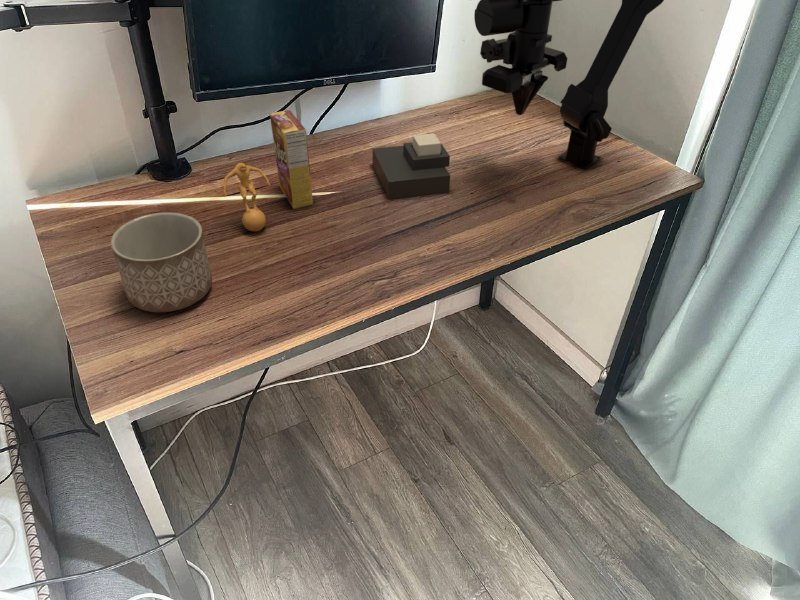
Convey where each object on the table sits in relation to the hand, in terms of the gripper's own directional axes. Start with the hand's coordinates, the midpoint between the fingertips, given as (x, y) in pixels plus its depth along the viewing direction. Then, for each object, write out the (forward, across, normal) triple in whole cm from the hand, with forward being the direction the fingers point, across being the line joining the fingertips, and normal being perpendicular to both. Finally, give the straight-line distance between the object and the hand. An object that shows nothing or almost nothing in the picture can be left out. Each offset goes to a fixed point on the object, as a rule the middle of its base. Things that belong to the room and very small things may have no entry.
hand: (519, 114), depth 125 cm
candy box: (+13, +36, -24) cm, 45 cm away
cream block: (+7, +13, -12) cm, 19 cm away
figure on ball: (+13, +48, -21) cm, 54 cm away
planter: (+13, +68, -15) cm, 71 cm away
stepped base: (+13, +16, -13) cm, 24 cm away
